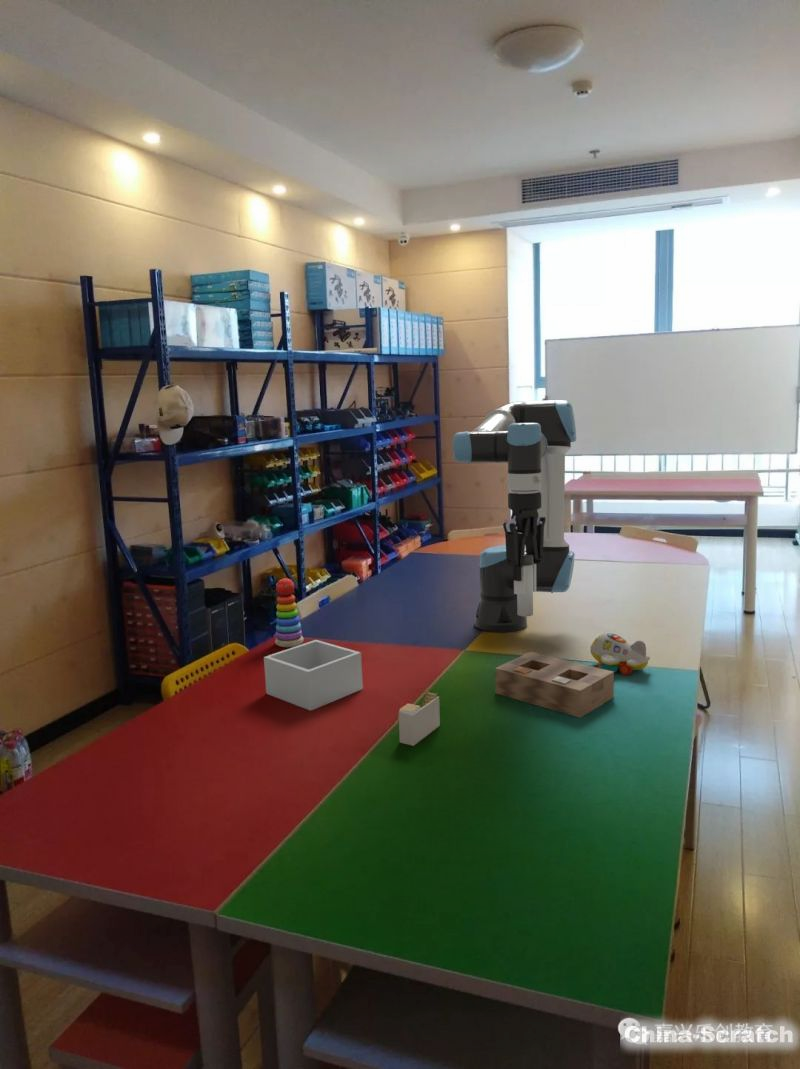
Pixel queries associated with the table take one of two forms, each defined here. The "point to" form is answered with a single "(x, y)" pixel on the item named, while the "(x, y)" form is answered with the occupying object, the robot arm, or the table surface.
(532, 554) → the robot arm
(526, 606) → the plug
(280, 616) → the stacking toy
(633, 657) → the toy airplane
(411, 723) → the model
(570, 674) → the socket block
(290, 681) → the box
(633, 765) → the table surface
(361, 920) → the table surface
